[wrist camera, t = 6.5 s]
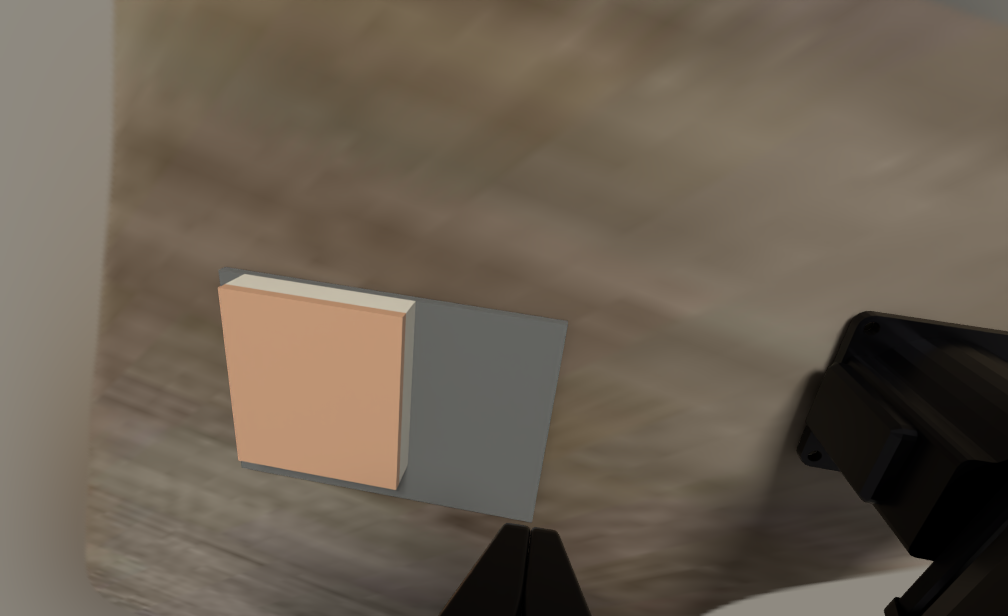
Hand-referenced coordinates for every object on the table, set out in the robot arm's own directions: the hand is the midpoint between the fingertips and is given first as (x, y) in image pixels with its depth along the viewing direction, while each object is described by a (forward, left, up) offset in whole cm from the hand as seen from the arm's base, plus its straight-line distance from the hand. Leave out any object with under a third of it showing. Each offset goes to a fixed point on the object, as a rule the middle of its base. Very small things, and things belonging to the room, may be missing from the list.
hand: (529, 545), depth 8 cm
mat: (+6, +6, -12) cm, 15 cm away
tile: (+5, +5, -11) cm, 13 cm away
